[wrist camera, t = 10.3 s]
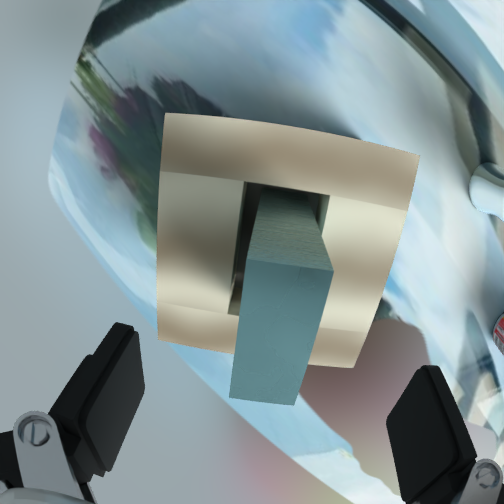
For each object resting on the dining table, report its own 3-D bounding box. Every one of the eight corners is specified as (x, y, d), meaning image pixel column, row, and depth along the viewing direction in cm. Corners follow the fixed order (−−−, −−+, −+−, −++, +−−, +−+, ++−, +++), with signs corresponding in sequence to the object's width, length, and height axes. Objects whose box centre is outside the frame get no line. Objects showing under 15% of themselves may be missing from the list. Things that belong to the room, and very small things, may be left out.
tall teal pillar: (262, 187, 22) (246, 258, 11) (305, 194, 22) (334, 271, 11) (250, 277, 25) (229, 397, 14) (289, 283, 25) (293, 405, 13)
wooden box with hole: (212, 116, 30) (165, 112, 17) (362, 140, 29) (419, 155, 16) (198, 262, 36) (158, 339, 23) (330, 282, 36) (353, 368, 23)
